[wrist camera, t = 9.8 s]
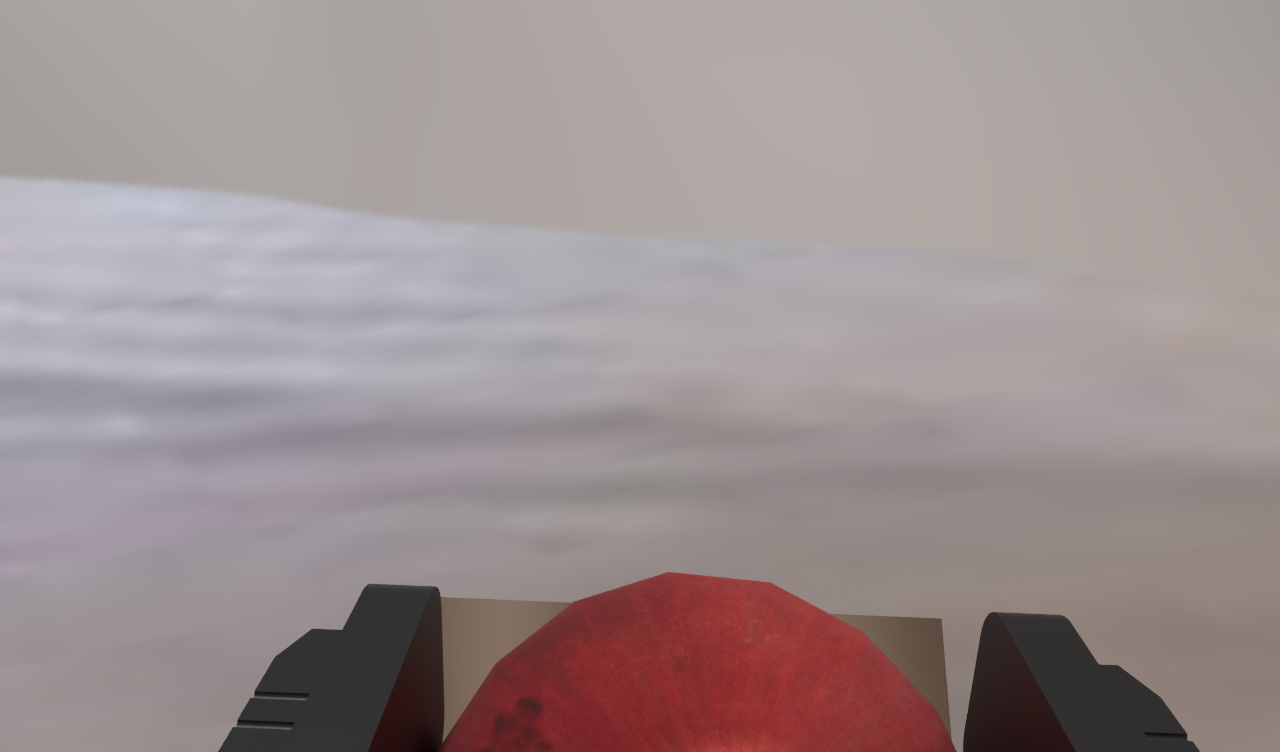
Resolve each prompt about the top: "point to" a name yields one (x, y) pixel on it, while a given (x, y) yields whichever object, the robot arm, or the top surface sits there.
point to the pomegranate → (697, 679)
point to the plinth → (500, 626)
